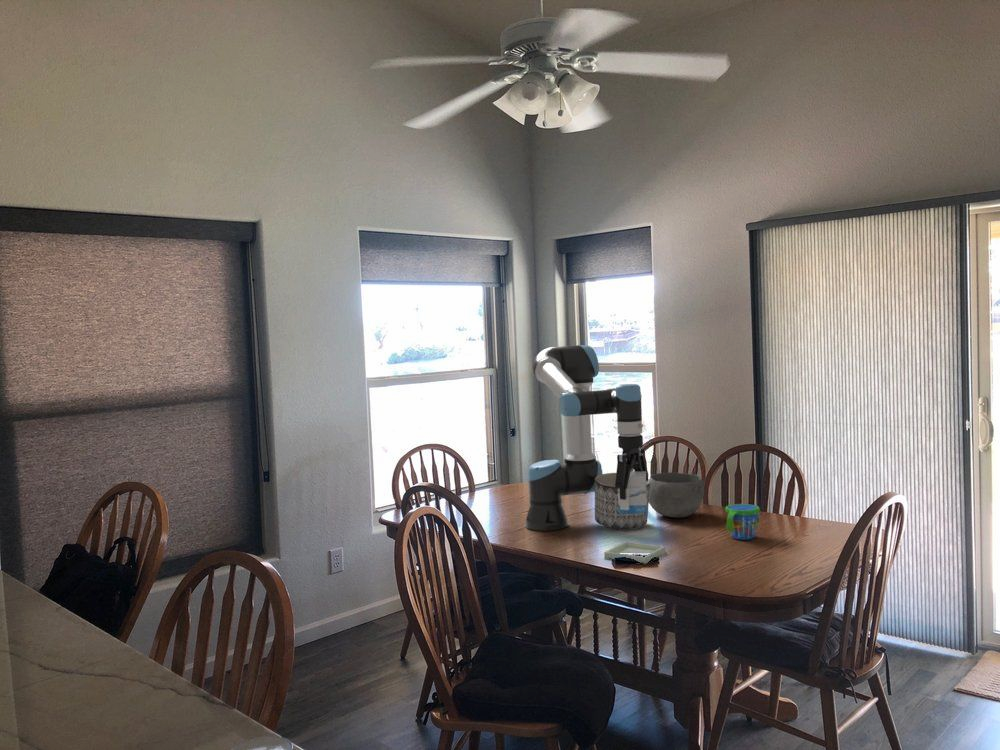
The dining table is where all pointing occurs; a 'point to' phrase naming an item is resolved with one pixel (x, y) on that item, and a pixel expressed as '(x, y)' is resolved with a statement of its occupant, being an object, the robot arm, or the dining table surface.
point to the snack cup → (742, 520)
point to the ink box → (636, 493)
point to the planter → (615, 505)
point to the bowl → (676, 494)
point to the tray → (635, 551)
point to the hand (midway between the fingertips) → (633, 505)
